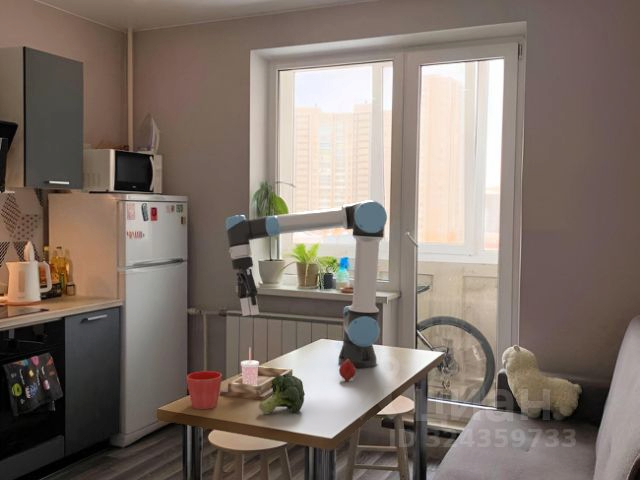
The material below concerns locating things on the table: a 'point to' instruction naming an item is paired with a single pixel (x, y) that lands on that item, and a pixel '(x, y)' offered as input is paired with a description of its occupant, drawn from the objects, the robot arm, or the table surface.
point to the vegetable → (284, 394)
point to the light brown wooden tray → (255, 391)
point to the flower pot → (204, 389)
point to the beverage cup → (249, 370)
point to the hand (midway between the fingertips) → (250, 315)
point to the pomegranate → (347, 370)
